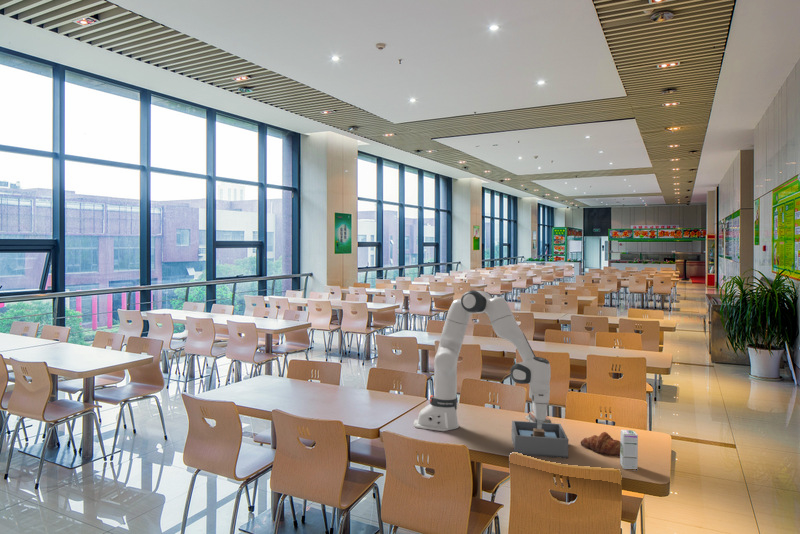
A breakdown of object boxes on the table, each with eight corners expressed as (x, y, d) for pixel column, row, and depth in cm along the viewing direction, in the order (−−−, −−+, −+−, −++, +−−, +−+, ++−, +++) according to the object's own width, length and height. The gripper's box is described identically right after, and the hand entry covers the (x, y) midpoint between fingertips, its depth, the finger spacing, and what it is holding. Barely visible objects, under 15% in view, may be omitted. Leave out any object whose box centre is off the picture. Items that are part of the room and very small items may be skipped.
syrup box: (637, 470, 216) (639, 434, 215) (622, 469, 217) (623, 433, 217) (634, 465, 221) (635, 430, 221) (619, 464, 222) (620, 429, 222)
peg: (533, 447, 238) (534, 431, 238) (532, 443, 242) (533, 428, 242) (544, 447, 237) (544, 432, 237) (542, 444, 241) (543, 428, 241)
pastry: (616, 445, 246) (616, 427, 246) (632, 457, 231) (632, 439, 231) (579, 444, 245) (580, 427, 245) (593, 457, 230) (594, 438, 230)
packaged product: (555, 419, 269) (535, 419, 268) (555, 428, 269) (535, 428, 268) (543, 409, 286) (525, 408, 286) (543, 418, 287) (524, 418, 286)
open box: (514, 454, 230) (515, 435, 230) (511, 437, 252) (512, 420, 252) (567, 458, 227) (568, 439, 227) (559, 441, 249) (560, 423, 249)
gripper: (530, 388, 250) (528, 417, 250) (534, 399, 230) (532, 431, 230) (543, 389, 249) (542, 419, 249) (549, 400, 229) (548, 433, 229)
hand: (537, 425), depth 239 cm, fingers open, 8 cm apart
